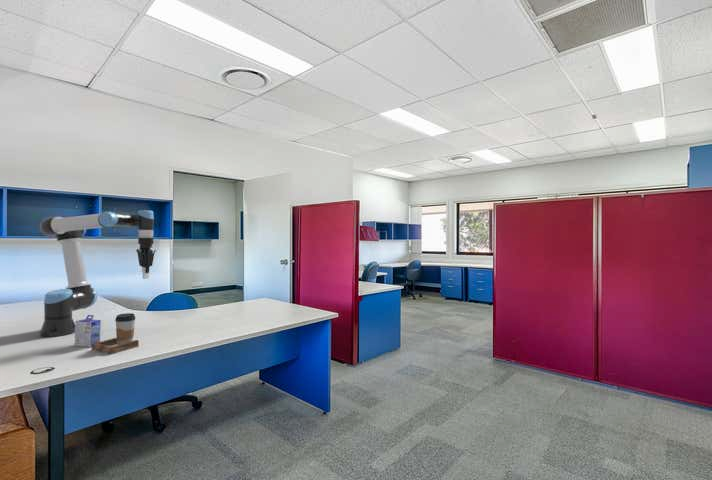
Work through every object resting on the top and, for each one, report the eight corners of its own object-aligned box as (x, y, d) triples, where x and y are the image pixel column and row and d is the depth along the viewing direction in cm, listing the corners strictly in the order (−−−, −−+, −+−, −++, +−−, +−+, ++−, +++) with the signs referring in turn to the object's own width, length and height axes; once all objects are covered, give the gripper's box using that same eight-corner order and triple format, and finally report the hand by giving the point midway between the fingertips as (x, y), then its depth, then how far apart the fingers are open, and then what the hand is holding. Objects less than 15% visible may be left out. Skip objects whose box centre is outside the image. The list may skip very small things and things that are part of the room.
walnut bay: (91, 350, 167) (91, 343, 167) (119, 342, 179) (119, 336, 179) (111, 354, 162) (111, 347, 162) (138, 346, 174) (138, 340, 174)
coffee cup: (139, 343, 178) (139, 314, 177) (124, 348, 170) (124, 317, 169) (125, 341, 180) (126, 312, 180) (110, 346, 172) (111, 316, 171)
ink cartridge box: (101, 344, 176) (101, 315, 176) (90, 347, 171) (91, 317, 171) (84, 342, 178) (84, 313, 178) (74, 346, 173) (74, 316, 173)
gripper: (159, 237, 204) (159, 278, 204) (144, 237, 209) (144, 277, 209) (147, 237, 197) (147, 280, 197) (131, 237, 202) (131, 278, 202)
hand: (145, 278), depth 203 cm, fingers closed
